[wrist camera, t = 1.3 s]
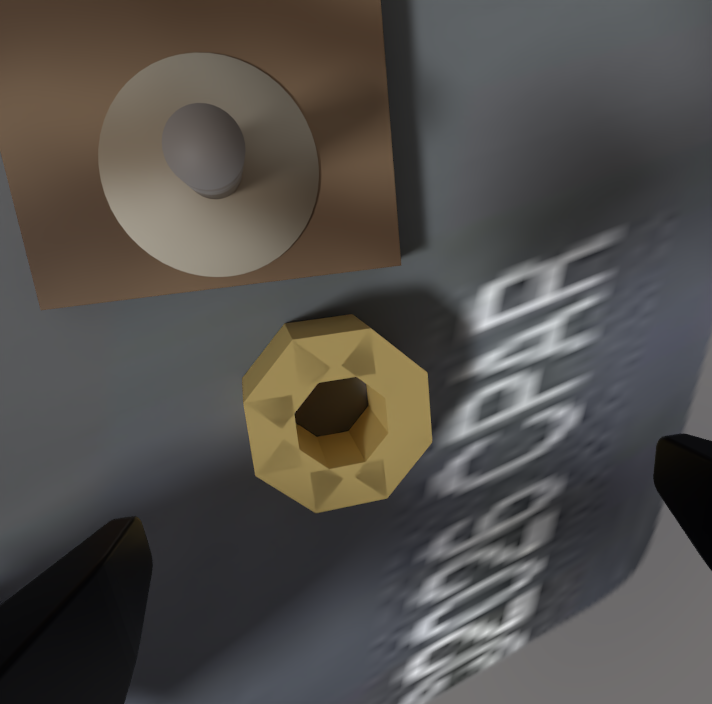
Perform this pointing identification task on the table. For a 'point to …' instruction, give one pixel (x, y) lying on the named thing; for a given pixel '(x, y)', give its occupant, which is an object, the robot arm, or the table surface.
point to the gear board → (130, 35)
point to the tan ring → (346, 449)
